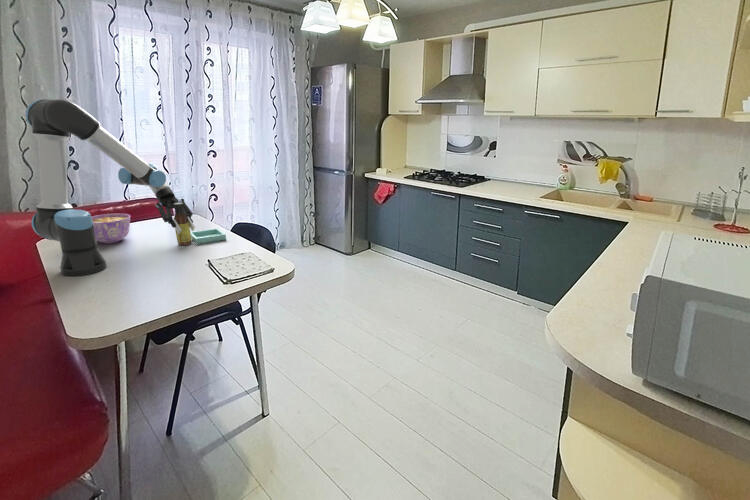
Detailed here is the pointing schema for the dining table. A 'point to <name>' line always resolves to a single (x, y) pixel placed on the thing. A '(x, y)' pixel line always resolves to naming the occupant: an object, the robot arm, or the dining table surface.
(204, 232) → the tray
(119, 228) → the bowl of food
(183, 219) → the sauce bottle
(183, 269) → the dining table surface
